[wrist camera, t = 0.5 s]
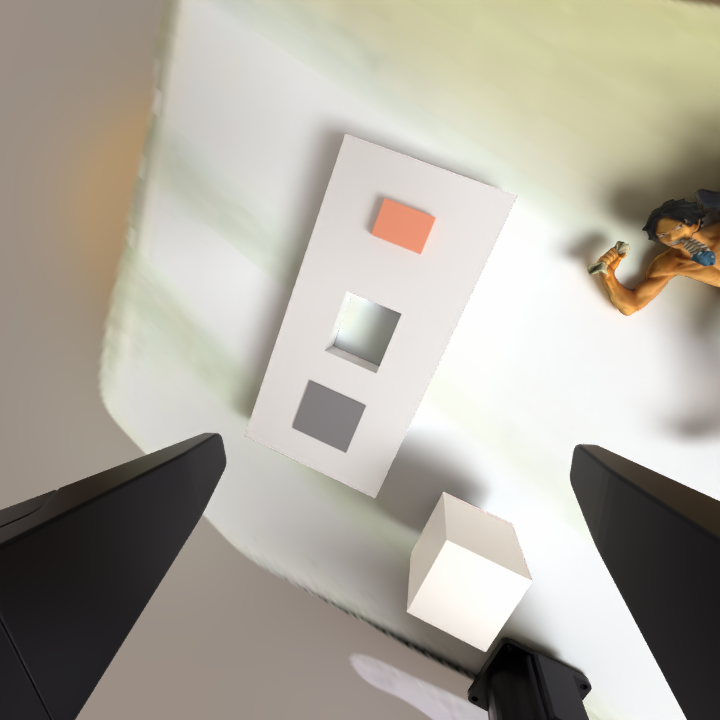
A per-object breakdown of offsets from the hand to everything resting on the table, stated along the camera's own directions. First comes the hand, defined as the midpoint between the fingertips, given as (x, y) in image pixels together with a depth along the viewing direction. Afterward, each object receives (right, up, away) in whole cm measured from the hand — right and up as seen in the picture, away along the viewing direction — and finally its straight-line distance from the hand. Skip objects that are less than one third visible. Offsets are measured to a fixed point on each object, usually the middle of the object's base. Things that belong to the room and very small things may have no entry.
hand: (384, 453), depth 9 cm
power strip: (0, +4, +14) cm, 15 cm away
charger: (+6, -9, +16) cm, 19 cm away
